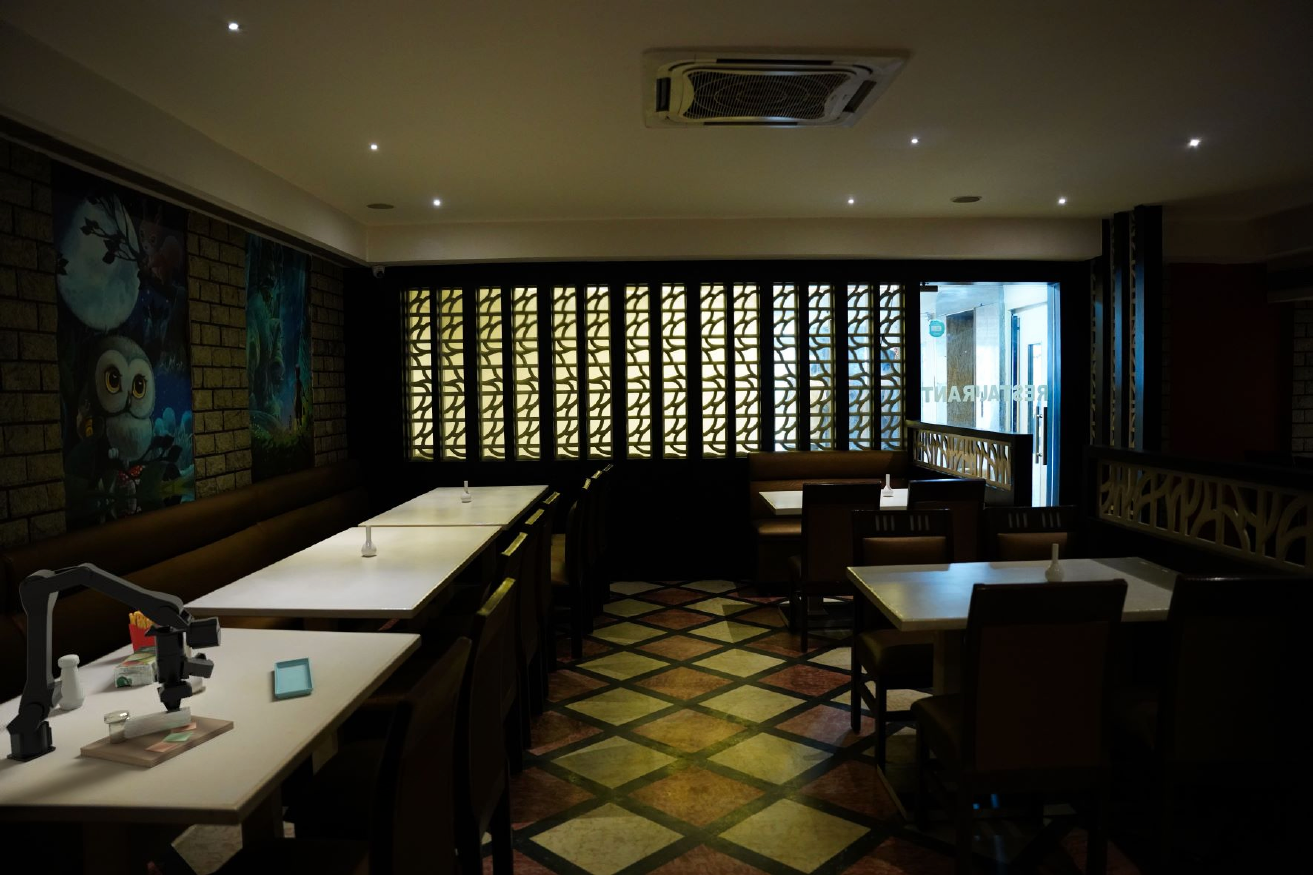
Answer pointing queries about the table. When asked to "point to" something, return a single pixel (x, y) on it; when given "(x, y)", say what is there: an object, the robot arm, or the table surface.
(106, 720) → the bar with metal cap
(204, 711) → the table surface
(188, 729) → the brown cutting board
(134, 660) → the juice carton
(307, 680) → the rectangular tray
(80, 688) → the salt shaker
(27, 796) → the table surface
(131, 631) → the french fries
